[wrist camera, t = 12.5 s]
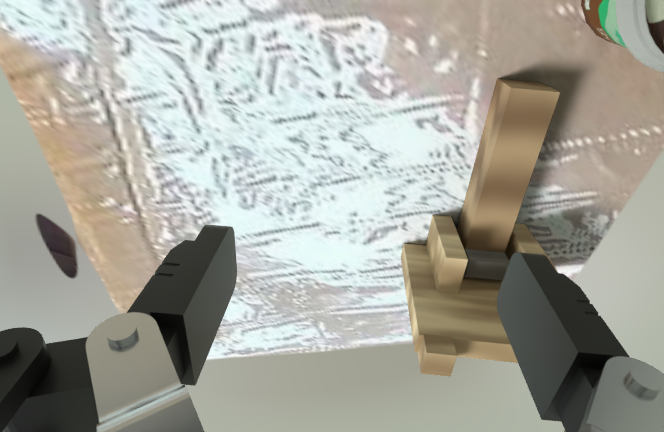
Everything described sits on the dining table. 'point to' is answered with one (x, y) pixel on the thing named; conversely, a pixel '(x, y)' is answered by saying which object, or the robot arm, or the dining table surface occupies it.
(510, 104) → the rail
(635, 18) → the food container
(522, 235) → the wooden post stand
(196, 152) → the dining table surface
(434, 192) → the dining table surface
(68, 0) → the dining table surface
